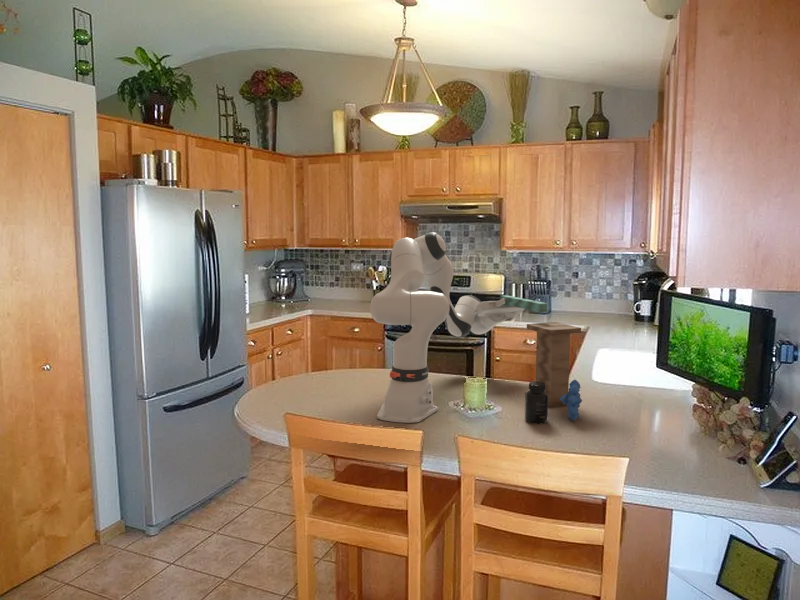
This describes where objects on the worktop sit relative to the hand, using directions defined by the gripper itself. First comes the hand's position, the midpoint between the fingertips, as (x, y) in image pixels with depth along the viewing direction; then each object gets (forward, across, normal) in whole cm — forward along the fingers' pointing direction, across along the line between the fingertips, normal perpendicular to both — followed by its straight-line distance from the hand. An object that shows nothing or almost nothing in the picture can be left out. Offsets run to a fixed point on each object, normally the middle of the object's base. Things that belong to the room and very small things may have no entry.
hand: (510, 299), depth 226 cm
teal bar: (+6, 0, +6) cm, 8 cm away
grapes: (+24, -6, +51) cm, 56 cm away
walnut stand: (+8, 0, +41) cm, 42 cm away
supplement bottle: (+22, -18, +50) cm, 57 cm away
